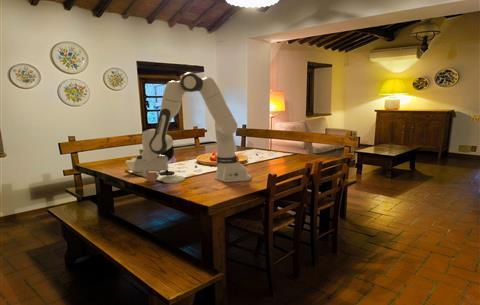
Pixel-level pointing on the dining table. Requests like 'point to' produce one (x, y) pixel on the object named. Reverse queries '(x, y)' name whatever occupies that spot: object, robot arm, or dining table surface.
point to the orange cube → (151, 176)
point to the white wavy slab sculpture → (132, 165)
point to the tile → (173, 179)
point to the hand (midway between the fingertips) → (151, 177)
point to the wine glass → (169, 154)
